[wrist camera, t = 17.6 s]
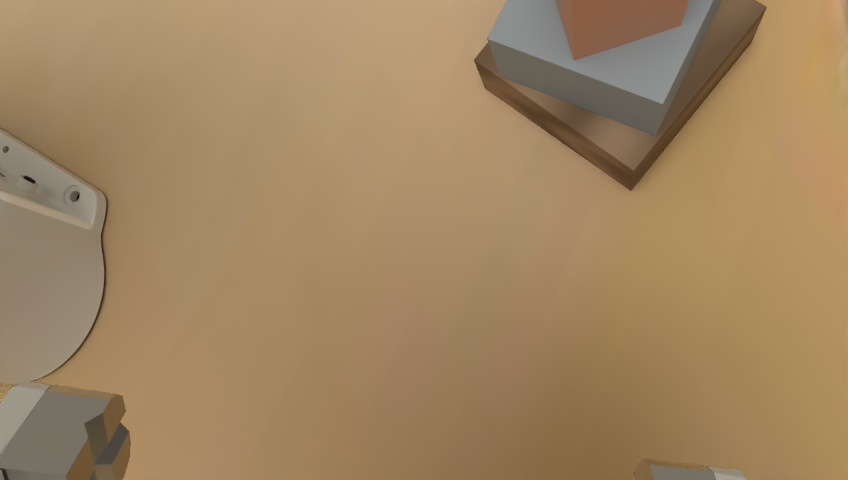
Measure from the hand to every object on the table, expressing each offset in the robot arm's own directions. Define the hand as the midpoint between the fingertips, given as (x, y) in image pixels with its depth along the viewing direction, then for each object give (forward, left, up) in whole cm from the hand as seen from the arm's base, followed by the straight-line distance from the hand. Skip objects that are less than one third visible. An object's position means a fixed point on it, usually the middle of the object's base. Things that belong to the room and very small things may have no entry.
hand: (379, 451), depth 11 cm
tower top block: (-11, +19, -30) cm, 37 cm away
